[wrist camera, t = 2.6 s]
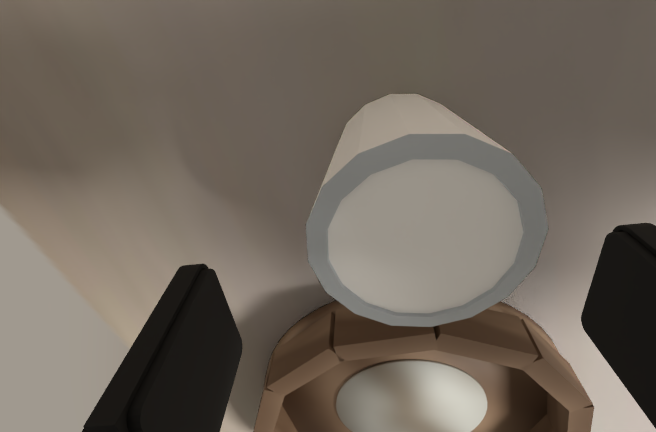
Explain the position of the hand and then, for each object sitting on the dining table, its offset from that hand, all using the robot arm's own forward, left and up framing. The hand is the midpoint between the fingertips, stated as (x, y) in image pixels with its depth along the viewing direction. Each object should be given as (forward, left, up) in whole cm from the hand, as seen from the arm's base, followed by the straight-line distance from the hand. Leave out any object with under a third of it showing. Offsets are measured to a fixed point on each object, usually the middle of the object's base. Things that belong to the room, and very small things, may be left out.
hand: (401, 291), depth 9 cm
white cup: (-1, +1, -9) cm, 9 cm away
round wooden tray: (+10, +15, -9) cm, 20 cm away
